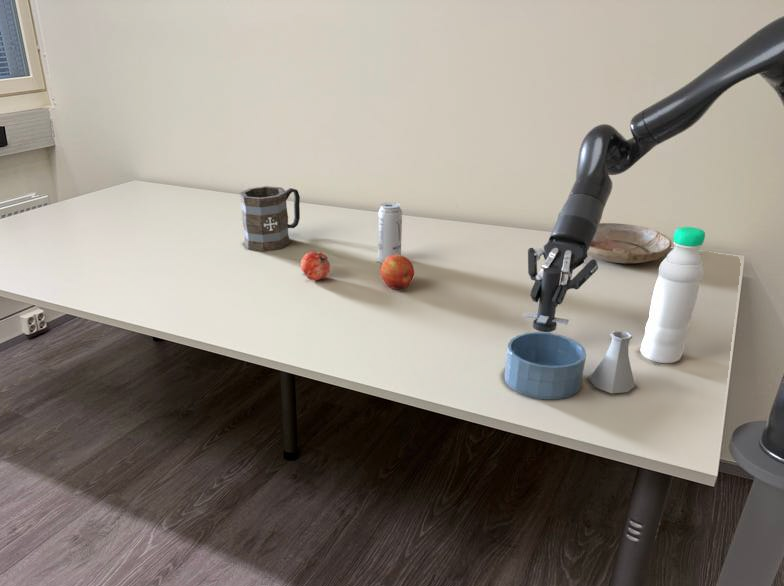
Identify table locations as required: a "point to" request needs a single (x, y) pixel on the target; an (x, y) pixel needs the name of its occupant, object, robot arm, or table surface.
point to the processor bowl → (544, 365)
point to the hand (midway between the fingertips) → (543, 302)
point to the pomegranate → (315, 265)
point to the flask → (615, 366)
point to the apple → (397, 271)
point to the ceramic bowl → (628, 243)
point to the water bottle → (674, 298)
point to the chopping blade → (547, 302)
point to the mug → (267, 217)
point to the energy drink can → (389, 230)
